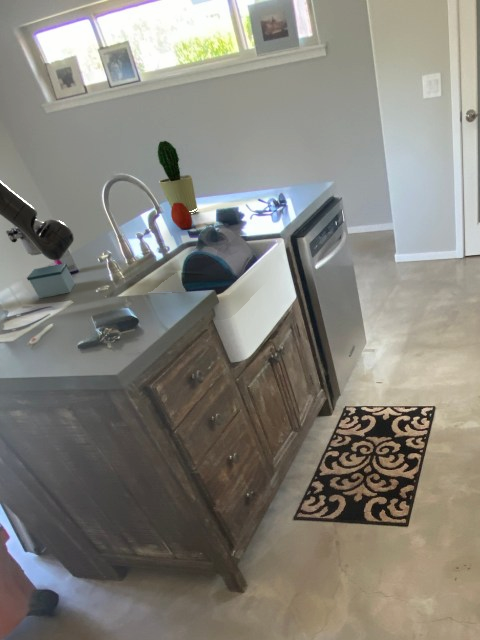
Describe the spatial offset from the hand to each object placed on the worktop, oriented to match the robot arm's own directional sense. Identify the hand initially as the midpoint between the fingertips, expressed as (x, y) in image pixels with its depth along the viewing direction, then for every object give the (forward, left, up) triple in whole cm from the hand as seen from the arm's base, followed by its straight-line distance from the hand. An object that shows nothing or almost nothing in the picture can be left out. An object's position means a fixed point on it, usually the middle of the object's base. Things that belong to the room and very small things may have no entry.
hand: (25, 229), depth 167 cm
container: (+1, -2, -19) cm, 19 cm away
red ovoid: (+44, +60, -19) cm, 76 cm away
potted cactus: (+44, +94, -19) cm, 105 cm away
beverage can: (+1, -2, -7) cm, 8 cm away
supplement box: (+1, +21, -19) cm, 28 cm away
